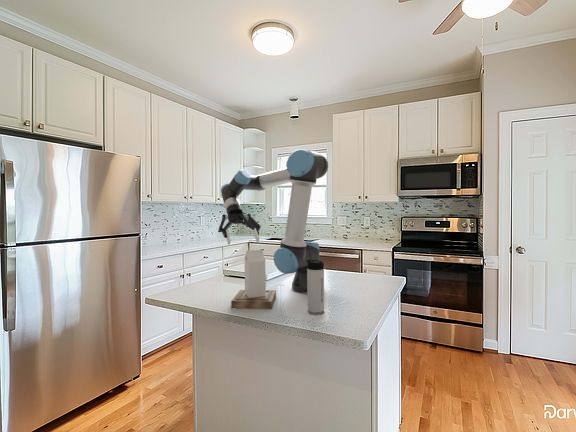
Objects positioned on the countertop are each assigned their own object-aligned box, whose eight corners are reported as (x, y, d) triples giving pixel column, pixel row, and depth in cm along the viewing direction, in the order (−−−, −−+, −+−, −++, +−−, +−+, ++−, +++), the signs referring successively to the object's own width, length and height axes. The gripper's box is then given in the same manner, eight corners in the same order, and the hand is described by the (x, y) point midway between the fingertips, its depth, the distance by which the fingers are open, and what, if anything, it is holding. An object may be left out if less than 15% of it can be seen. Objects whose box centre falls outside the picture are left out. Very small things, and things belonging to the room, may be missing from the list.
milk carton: (265, 296, 127) (265, 250, 126) (248, 298, 124) (248, 251, 124) (261, 292, 134) (260, 248, 133) (245, 293, 131) (244, 249, 130)
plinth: (275, 296, 136) (275, 289, 136) (271, 309, 120) (271, 300, 120) (240, 296, 137) (240, 289, 137) (231, 308, 121) (231, 300, 121)
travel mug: (305, 309, 119) (305, 258, 119) (322, 309, 120) (322, 258, 119) (307, 315, 113) (307, 261, 112) (325, 314, 114) (325, 261, 113)
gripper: (255, 213, 161) (267, 244, 148) (207, 214, 150) (215, 248, 137) (258, 202, 156) (271, 234, 143) (209, 203, 145) (218, 237, 132)
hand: (244, 241), depth 140 cm, fingers open, 13 cm apart
